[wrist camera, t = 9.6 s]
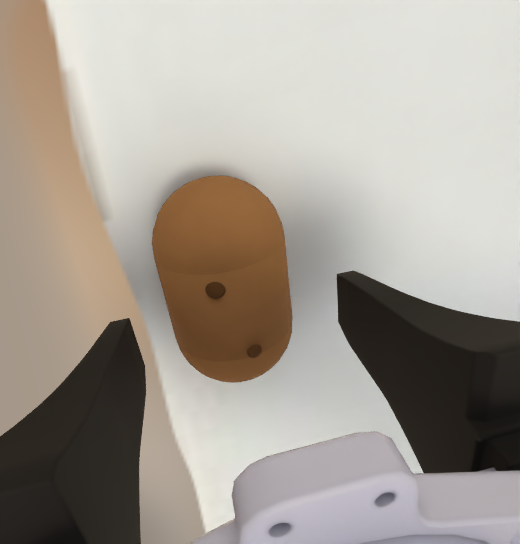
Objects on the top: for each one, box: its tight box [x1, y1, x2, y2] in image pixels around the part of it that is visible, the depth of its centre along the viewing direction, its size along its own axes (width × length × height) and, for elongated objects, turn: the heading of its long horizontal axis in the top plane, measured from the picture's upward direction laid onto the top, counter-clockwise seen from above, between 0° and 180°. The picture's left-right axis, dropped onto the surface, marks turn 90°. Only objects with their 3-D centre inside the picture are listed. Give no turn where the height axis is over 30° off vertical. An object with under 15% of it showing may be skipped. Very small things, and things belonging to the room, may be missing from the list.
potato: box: [152, 176, 292, 382], centre depth 16 cm, size 8×5×5 cm, turn 7°
